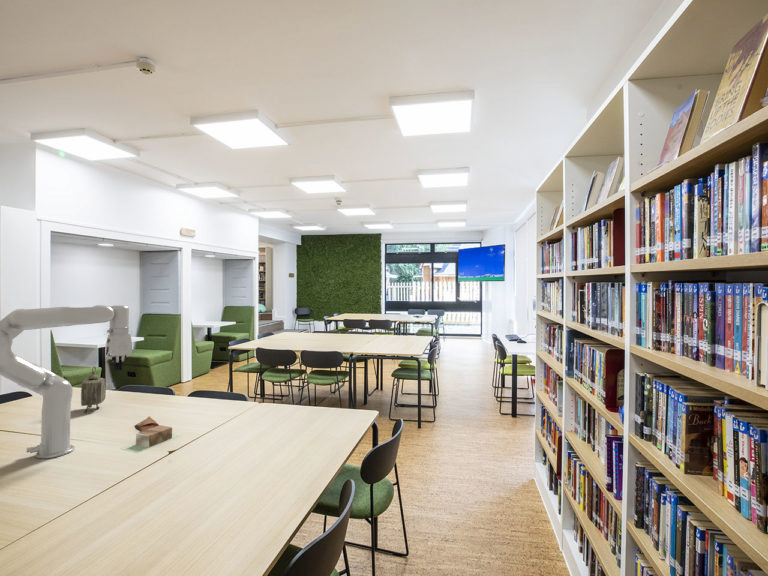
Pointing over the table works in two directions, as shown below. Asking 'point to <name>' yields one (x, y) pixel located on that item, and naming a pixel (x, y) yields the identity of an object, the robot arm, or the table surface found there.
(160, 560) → the table surface
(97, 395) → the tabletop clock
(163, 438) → the walnut block
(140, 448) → the felt mat
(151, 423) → the sunglasses case
